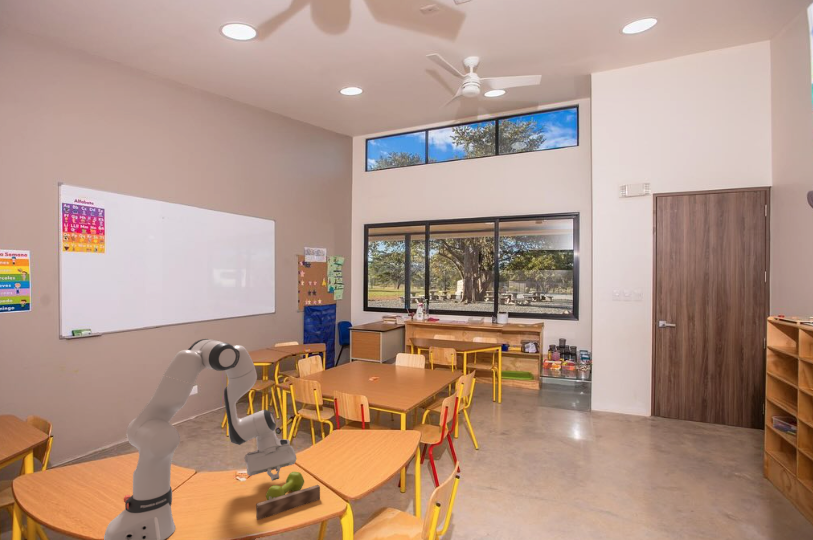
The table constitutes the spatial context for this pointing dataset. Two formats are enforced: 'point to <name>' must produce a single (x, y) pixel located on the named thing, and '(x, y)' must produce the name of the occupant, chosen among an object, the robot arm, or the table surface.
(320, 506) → the table surface
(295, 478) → the dumbbell
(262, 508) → the walnut board
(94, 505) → the table surface
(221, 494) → the table surface
